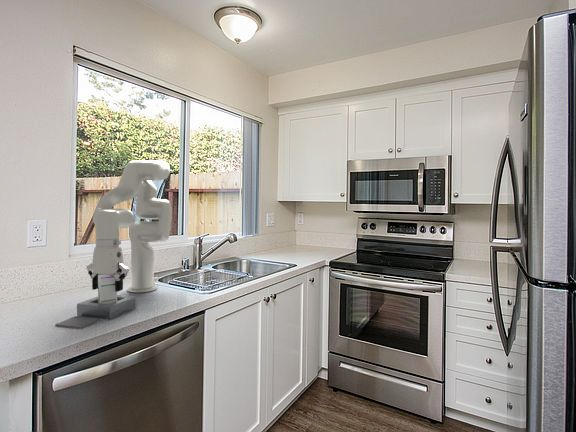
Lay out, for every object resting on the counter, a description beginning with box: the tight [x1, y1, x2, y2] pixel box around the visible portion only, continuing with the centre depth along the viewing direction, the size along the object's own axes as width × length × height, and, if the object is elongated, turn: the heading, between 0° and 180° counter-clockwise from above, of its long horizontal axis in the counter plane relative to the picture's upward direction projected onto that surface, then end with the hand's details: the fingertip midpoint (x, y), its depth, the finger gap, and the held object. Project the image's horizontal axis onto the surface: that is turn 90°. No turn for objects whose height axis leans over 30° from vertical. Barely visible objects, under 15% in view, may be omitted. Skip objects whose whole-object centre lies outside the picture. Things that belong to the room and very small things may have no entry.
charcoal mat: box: [54, 315, 101, 330], centre depth 112 cm, size 8×10×1 cm
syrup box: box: [97, 274, 118, 304], centre depth 123 cm, size 6×6×14 cm
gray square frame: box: [76, 294, 137, 321], centre depth 123 cm, size 14×14×4 cm
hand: (107, 289), depth 123 cm, fingers open, 9 cm apart
